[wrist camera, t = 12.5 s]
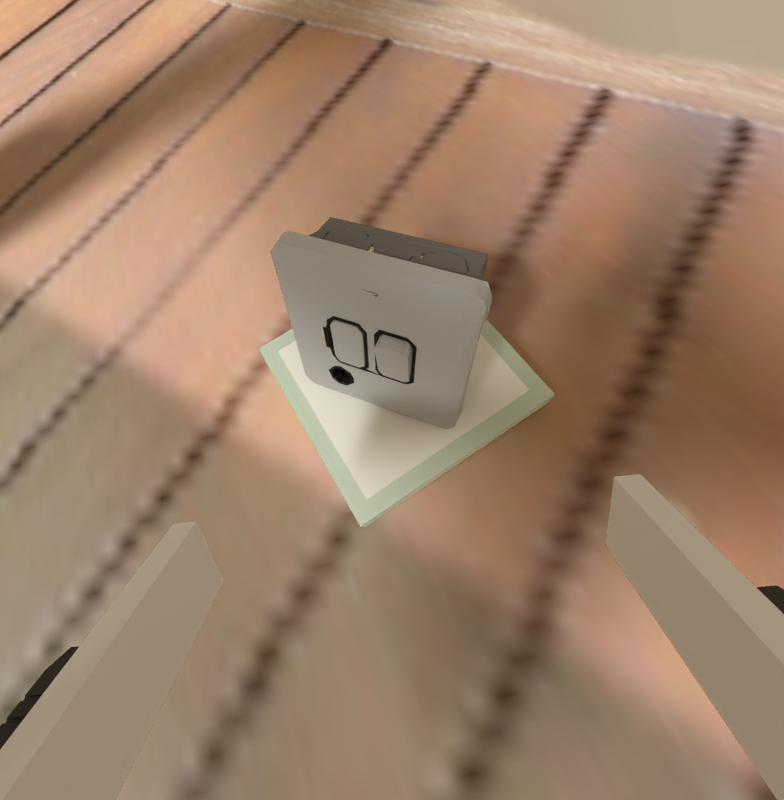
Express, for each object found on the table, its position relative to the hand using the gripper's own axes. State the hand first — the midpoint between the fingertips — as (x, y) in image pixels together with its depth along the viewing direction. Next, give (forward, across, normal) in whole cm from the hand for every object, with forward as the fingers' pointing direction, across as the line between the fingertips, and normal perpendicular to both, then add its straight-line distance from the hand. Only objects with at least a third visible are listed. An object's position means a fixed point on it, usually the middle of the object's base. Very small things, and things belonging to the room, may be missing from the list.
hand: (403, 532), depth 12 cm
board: (+13, 0, 0) cm, 13 cm away
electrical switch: (+12, 0, +1) cm, 12 cm away
